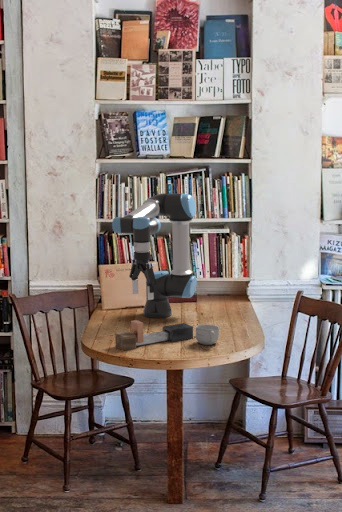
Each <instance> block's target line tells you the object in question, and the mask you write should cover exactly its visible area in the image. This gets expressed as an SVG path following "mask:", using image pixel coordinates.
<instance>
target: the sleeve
mask: <svg viewBox="0 0 342 512" xmlns="http://www.w3.org/2000/svg"><path fill="white" fill-rule="evenodd" d="M161 330H162V331H166V330H167V331H169V332H170V340H169V342H170V343H174V342H179V341H185V340H190V339H193V338H194V332H193V331H194V326H192V325H191V324H190V325H189V324H188V323H184V322H183V323H177V324H175V323H174V324H169V325H165V326H162V329H161Z"/></svg>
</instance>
